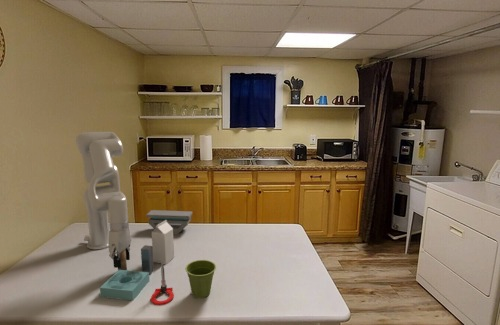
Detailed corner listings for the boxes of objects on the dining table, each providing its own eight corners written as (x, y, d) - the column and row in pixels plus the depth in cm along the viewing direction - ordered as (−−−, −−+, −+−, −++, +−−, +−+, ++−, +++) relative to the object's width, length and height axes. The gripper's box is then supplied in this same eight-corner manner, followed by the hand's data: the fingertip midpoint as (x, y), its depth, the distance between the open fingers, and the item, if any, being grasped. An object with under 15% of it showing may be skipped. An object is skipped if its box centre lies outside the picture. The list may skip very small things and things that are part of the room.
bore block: (100, 296, 121) (99, 287, 120) (120, 278, 134) (119, 269, 133) (133, 300, 119) (132, 290, 118) (149, 281, 132) (148, 272, 131)
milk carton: (174, 257, 152) (172, 220, 148) (165, 264, 145) (164, 226, 142) (161, 255, 154) (160, 218, 151) (152, 262, 147) (150, 224, 144)
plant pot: (190, 305, 116) (189, 278, 114) (183, 288, 126) (182, 263, 124) (220, 298, 120) (220, 271, 118) (211, 282, 131) (211, 257, 129)
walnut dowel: (116, 274, 136) (114, 249, 134) (121, 270, 140) (119, 245, 138) (124, 275, 136) (122, 249, 134) (128, 270, 139) (126, 246, 137)
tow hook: (172, 305, 117) (175, 289, 126) (170, 274, 114) (173, 261, 123) (149, 307, 116) (153, 291, 125) (147, 276, 113) (151, 262, 122)
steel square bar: (142, 274, 137) (140, 248, 135) (146, 270, 140) (144, 245, 138) (150, 275, 136) (148, 249, 134) (153, 270, 140) (152, 245, 138)
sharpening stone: (147, 232, 181) (146, 214, 179) (152, 227, 189) (151, 210, 187) (189, 234, 179) (188, 216, 177) (192, 228, 187) (192, 211, 185)
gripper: (122, 217, 143) (124, 253, 146) (98, 232, 126) (102, 273, 129) (137, 218, 142) (139, 254, 145) (115, 233, 125) (118, 274, 128)
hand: (122, 263), depth 137 cm, fingers open, 6 cm apart
